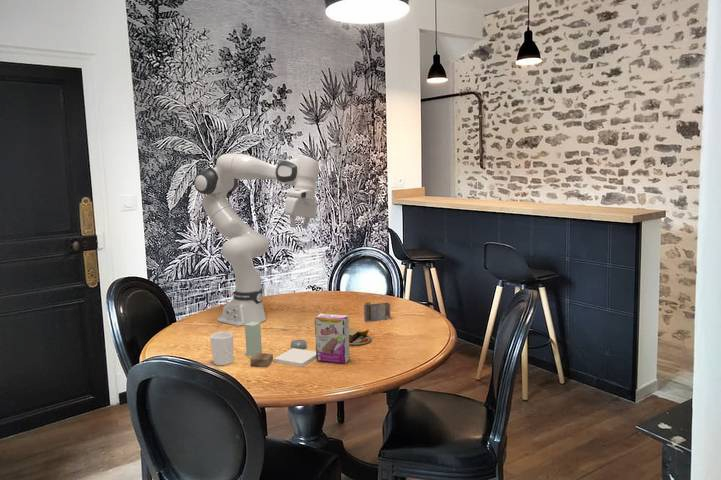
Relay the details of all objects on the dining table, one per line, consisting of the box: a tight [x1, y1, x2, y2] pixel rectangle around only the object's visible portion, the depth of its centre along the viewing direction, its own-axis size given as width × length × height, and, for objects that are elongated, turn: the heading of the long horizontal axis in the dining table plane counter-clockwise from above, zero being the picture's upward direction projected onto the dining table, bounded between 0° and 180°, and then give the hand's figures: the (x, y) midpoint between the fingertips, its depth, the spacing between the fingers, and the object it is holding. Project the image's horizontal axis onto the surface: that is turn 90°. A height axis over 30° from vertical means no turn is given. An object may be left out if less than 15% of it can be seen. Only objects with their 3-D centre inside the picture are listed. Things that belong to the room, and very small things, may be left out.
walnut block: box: [249, 352, 274, 368], centre depth 186 cm, size 6×6×3 cm
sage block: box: [244, 322, 263, 358], centre depth 195 cm, size 4×4×12 cm
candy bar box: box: [314, 313, 351, 365], centre depth 186 cm, size 11×5×16 cm, turn 71°
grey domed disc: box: [290, 339, 308, 350], centre depth 202 cm, size 6×6×2 cm
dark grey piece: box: [363, 301, 392, 323], centre depth 234 cm, size 11×3×10 cm, turn 103°
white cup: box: [209, 331, 234, 366], centre depth 189 cm, size 8×8×10 cm
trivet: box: [273, 348, 316, 368], centre depth 190 cm, size 12×12×1 cm
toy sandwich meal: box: [349, 327, 372, 347], centre depth 208 cm, size 12×14×5 cm
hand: (298, 227), depth 218 cm, fingers open, 8 cm apart
